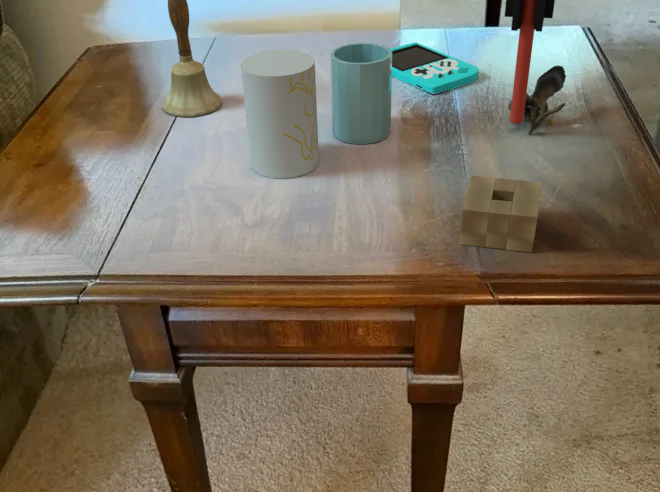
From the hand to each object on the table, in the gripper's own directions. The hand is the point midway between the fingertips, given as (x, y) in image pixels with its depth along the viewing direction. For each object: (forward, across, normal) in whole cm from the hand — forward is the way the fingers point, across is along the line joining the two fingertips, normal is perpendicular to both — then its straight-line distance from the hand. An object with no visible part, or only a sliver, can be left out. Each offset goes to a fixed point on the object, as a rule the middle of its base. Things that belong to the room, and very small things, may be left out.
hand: (527, 24), depth 65 cm
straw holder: (+20, 0, 0) cm, 20 cm away
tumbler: (+20, -20, +20) cm, 34 cm away
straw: (+9, 0, 0) cm, 9 cm away
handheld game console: (+21, -16, +42) cm, 49 cm away
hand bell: (+20, -44, +24) cm, 54 cm away
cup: (+20, -26, +10) cm, 35 cm away
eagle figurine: (+21, +2, +27) cm, 34 cm away
